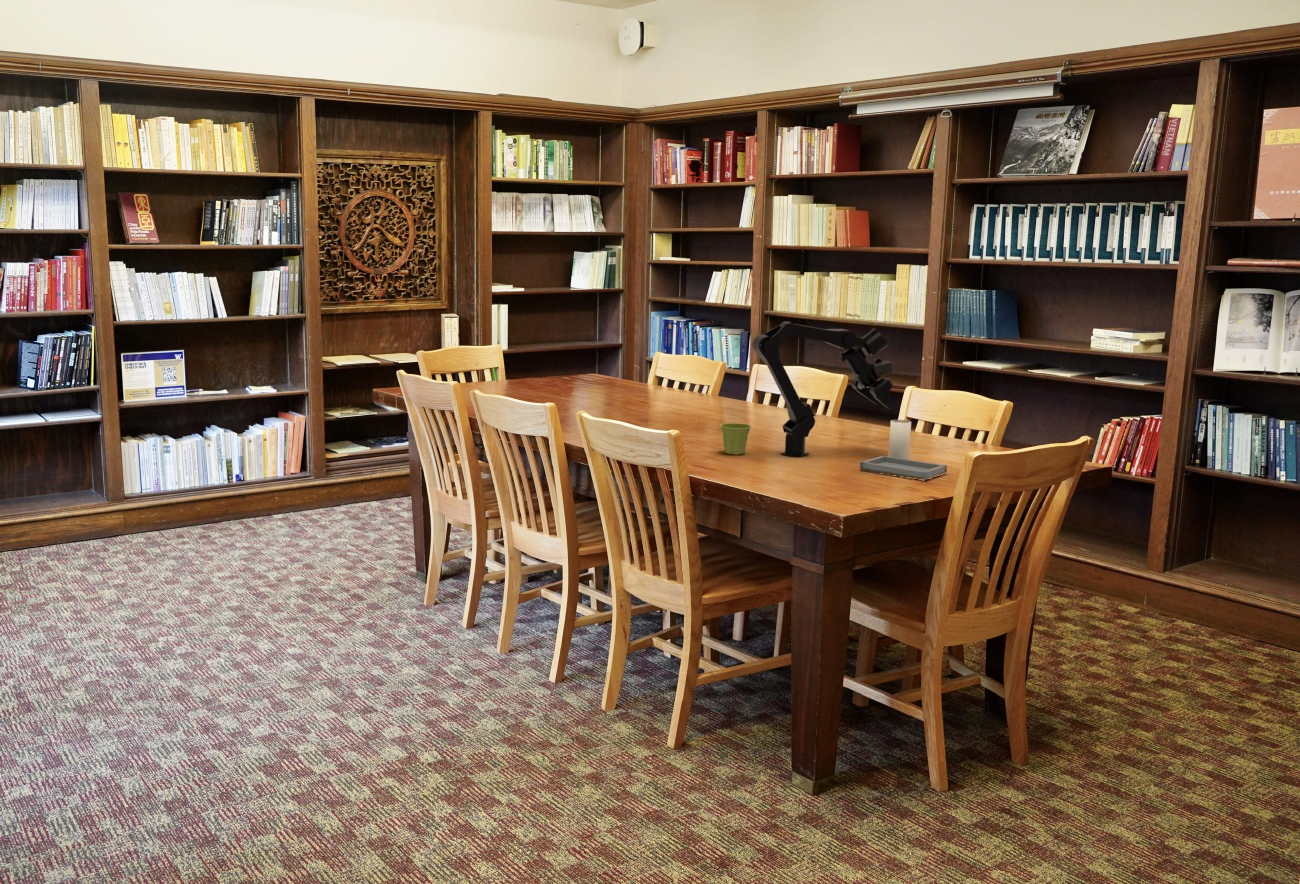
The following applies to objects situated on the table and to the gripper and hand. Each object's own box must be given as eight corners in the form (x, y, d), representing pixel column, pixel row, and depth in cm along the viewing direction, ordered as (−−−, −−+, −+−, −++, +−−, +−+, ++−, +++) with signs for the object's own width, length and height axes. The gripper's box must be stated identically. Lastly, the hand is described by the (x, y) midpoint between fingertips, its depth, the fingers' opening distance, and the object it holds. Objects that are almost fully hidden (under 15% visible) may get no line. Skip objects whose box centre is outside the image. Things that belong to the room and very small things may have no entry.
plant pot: (724, 457, 334) (726, 428, 332) (714, 451, 343) (715, 423, 341) (754, 456, 336) (755, 427, 335) (743, 450, 345) (744, 422, 344)
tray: (924, 481, 307) (925, 472, 306) (859, 470, 319) (860, 462, 319) (946, 474, 317) (947, 465, 317) (882, 463, 330) (883, 455, 329)
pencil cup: (902, 465, 328) (905, 423, 326) (884, 462, 332) (886, 421, 329) (911, 463, 333) (914, 421, 330) (893, 460, 336) (896, 419, 334)
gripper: (894, 353, 331) (919, 395, 336) (868, 347, 349) (892, 387, 354) (864, 374, 331) (889, 417, 335) (840, 367, 348) (864, 407, 353)
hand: (884, 406), depth 344 cm, fingers open, 9 cm apart
